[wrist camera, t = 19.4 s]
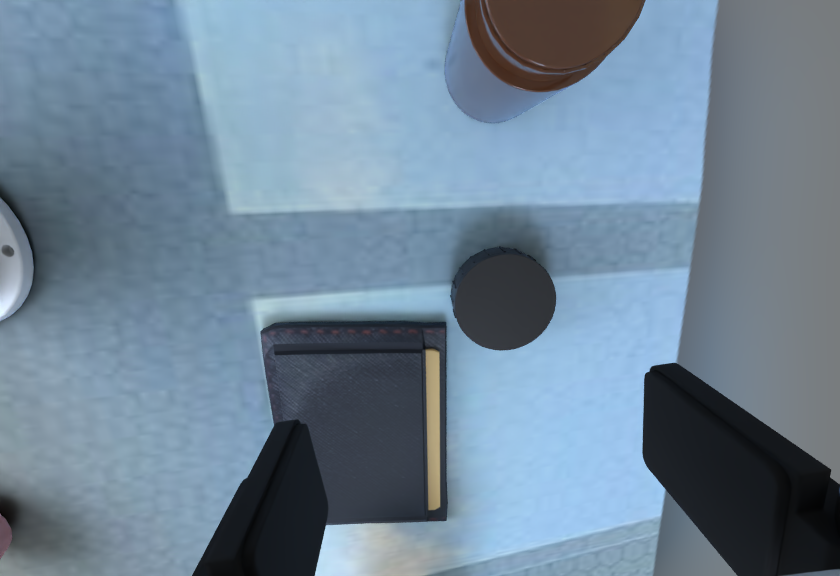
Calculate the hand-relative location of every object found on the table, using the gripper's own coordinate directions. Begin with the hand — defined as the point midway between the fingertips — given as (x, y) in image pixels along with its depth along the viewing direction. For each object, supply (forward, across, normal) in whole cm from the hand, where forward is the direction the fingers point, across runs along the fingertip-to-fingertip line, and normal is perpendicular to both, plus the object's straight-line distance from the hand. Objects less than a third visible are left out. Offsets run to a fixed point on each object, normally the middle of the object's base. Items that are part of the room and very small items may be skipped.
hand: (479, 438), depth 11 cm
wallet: (+20, +8, +13) cm, 25 cm away
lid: (+18, -5, +3) cm, 19 cm away
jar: (+20, -6, -13) cm, 25 cm away
